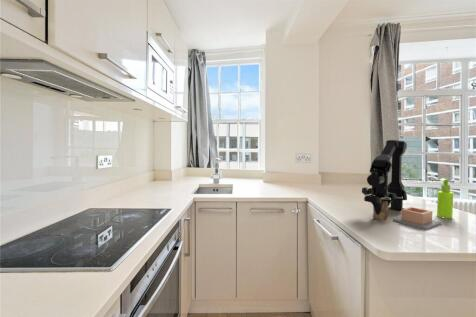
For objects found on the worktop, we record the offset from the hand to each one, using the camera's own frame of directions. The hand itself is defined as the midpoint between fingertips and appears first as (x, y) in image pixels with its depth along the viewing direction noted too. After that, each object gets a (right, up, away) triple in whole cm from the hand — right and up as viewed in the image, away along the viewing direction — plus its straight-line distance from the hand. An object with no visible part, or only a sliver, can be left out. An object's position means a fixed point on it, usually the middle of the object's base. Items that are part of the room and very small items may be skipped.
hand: (380, 213), depth 116 cm
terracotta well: (+14, -3, -6) cm, 15 cm away
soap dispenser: (+34, -2, +1) cm, 34 cm away
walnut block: (0, -3, 0) cm, 2 cm away
